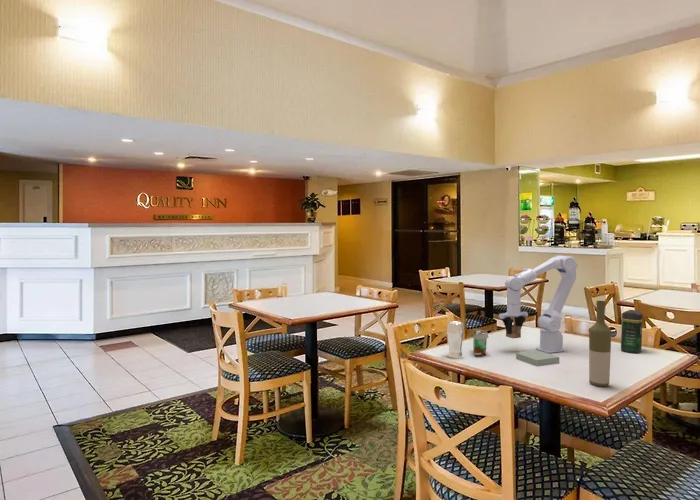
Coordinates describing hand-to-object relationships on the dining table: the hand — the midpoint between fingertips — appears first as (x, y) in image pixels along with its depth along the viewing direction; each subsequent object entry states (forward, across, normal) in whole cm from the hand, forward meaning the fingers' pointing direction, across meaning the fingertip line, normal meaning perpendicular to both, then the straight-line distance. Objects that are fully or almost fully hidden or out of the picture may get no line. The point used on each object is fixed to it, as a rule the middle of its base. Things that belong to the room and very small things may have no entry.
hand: (513, 333), depth 214 cm
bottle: (+9, +3, +48) cm, 49 cm away
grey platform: (+9, +1, +16) cm, 18 cm away
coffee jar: (+9, -50, +20) cm, 54 cm away
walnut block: (+2, 0, 0) cm, 2 cm away
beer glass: (+9, +29, -3) cm, 30 cm away
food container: (+9, +16, -2) cm, 18 cm away
